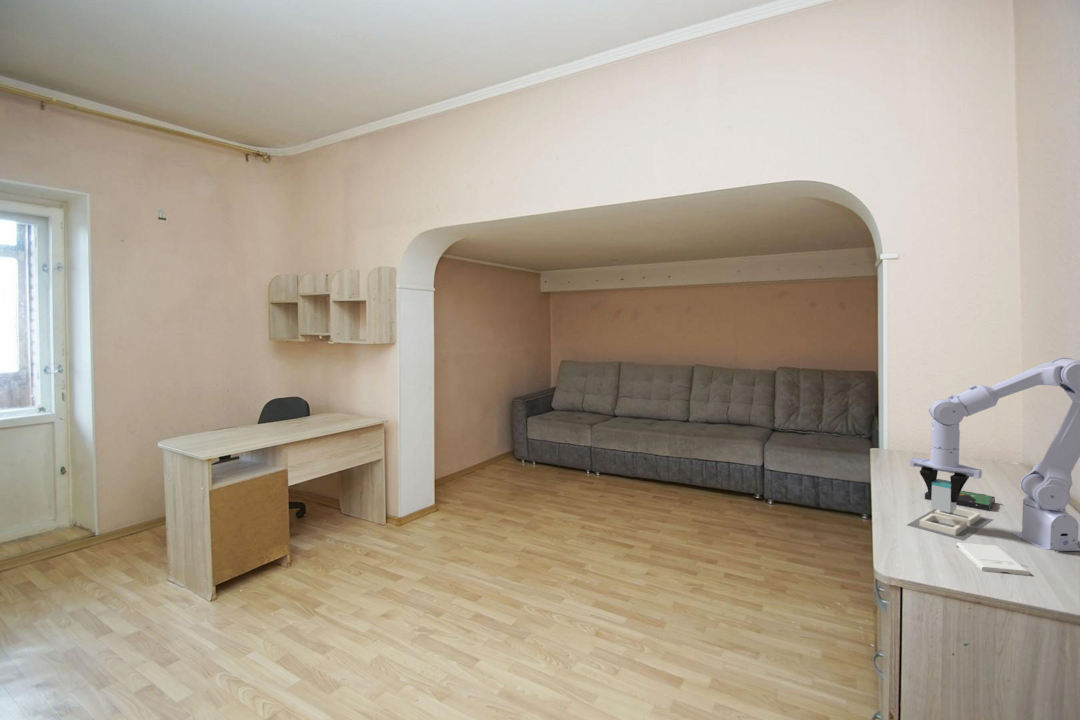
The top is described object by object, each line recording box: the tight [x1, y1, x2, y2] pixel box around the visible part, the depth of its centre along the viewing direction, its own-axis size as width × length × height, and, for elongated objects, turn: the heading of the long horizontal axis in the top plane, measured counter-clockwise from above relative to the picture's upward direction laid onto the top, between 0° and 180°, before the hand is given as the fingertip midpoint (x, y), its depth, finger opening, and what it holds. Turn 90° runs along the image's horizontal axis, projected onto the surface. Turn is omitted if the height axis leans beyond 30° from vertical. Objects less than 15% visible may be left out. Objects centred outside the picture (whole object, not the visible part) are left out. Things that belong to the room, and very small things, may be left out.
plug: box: [930, 478, 957, 513], centre depth 131 cm, size 4×4×7 cm
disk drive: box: [924, 490, 996, 512], centre depth 149 cm, size 10×3×15 cm
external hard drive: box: [956, 542, 1030, 577], centre depth 115 cm, size 2×8×12 cm
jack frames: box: [919, 507, 981, 535], centre depth 134 cm, size 17×8×2 cm, turn 124°
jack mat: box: [906, 509, 994, 541], centre depth 134 cm, size 21×12×1 cm, turn 124°
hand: (943, 499), depth 131 cm, fingers closed on plug, 4 cm apart
